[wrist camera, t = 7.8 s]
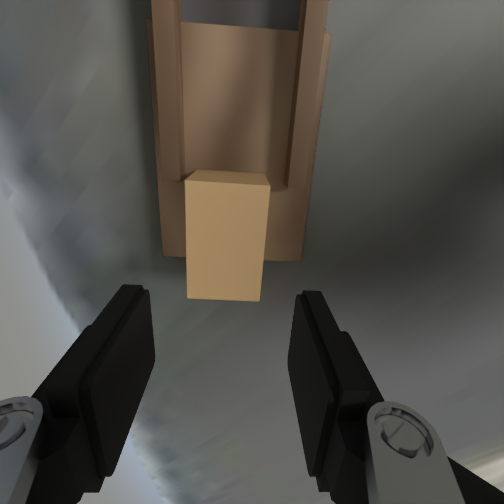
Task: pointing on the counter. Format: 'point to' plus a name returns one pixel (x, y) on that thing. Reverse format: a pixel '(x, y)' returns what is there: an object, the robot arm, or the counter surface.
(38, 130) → the counter surface
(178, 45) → the brown piece
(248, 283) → the block
